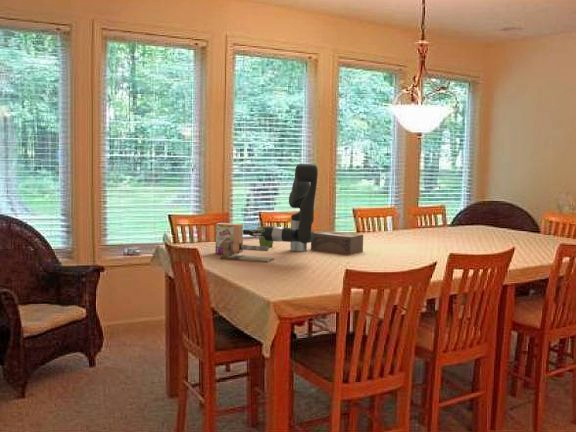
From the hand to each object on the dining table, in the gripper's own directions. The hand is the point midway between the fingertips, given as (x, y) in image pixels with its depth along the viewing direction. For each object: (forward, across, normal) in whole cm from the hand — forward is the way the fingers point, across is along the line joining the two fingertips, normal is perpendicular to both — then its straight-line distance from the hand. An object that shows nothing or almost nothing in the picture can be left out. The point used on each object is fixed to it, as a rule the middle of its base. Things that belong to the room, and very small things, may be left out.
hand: (243, 231), depth 322 cm
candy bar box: (+14, -10, +14) cm, 22 cm away
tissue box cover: (-38, -47, +14) cm, 62 cm away
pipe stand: (-2, 0, +14) cm, 14 cm away
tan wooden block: (+3, 0, +11) cm, 11 cm away
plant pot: (+3, -42, +14) cm, 44 cm away
